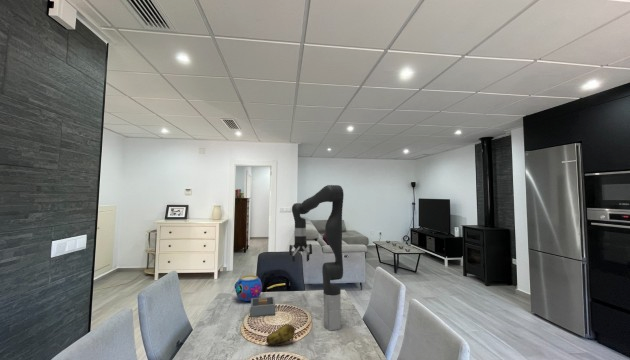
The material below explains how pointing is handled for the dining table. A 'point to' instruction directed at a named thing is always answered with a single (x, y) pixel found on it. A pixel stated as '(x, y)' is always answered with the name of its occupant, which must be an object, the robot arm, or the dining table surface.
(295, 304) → the dining table surface
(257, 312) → the charcoal bin
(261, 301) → the walnut block
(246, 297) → the ceramic pot
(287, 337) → the green pear
